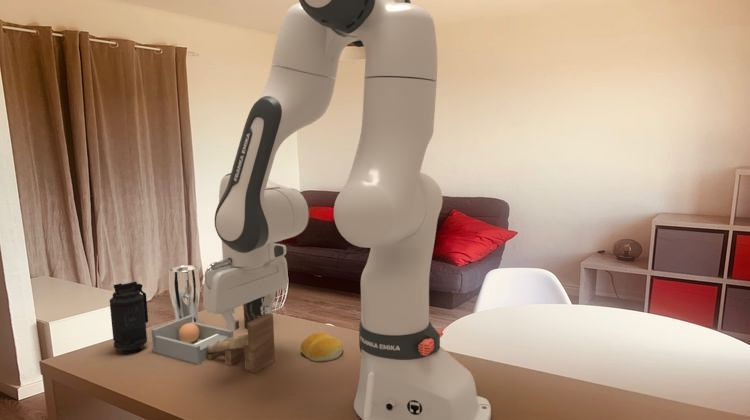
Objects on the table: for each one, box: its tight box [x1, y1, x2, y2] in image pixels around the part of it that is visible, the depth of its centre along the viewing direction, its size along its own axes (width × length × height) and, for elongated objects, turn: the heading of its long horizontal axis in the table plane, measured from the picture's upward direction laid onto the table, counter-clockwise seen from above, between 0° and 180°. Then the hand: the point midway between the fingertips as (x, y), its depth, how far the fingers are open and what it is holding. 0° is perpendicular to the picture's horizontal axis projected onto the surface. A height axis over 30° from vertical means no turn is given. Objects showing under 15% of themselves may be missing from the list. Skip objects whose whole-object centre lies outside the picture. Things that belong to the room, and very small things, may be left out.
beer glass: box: [168, 264, 201, 324], centre depth 119 cm, size 7×7×15 cm
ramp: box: [206, 313, 276, 374], centre depth 101 cm, size 14×6×10 cm, turn 61°
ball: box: [179, 323, 199, 343], centre depth 111 cm, size 4×4×4 cm
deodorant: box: [242, 297, 265, 330], centre depth 120 cm, size 6×6×15 cm
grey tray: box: [151, 315, 234, 365], centre depth 107 cm, size 14×10×5 cm
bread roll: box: [300, 332, 344, 362], centre depth 104 cm, size 8×9×4 cm
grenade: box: [109, 281, 149, 354], centre depth 108 cm, size 7×7×15 cm
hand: (250, 321), depth 98 cm, fingers open, 8 cm apart
